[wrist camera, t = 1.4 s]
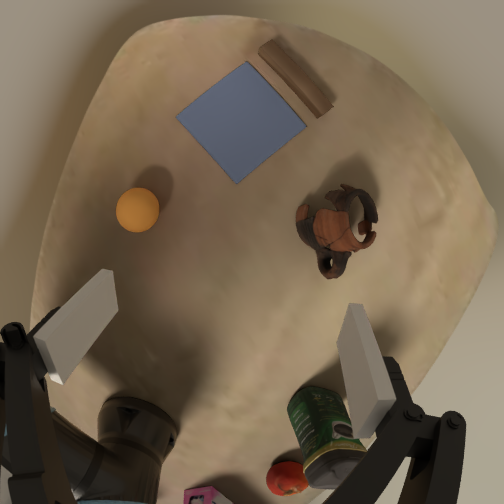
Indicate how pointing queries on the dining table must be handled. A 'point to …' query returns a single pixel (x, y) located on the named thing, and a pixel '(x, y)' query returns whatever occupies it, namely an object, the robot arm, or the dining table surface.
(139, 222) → the ball
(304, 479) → the tomato
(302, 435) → the coffee jar
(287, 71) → the stopper strip
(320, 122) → the dining table surface
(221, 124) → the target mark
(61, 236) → the dining table surface
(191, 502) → the gum box
